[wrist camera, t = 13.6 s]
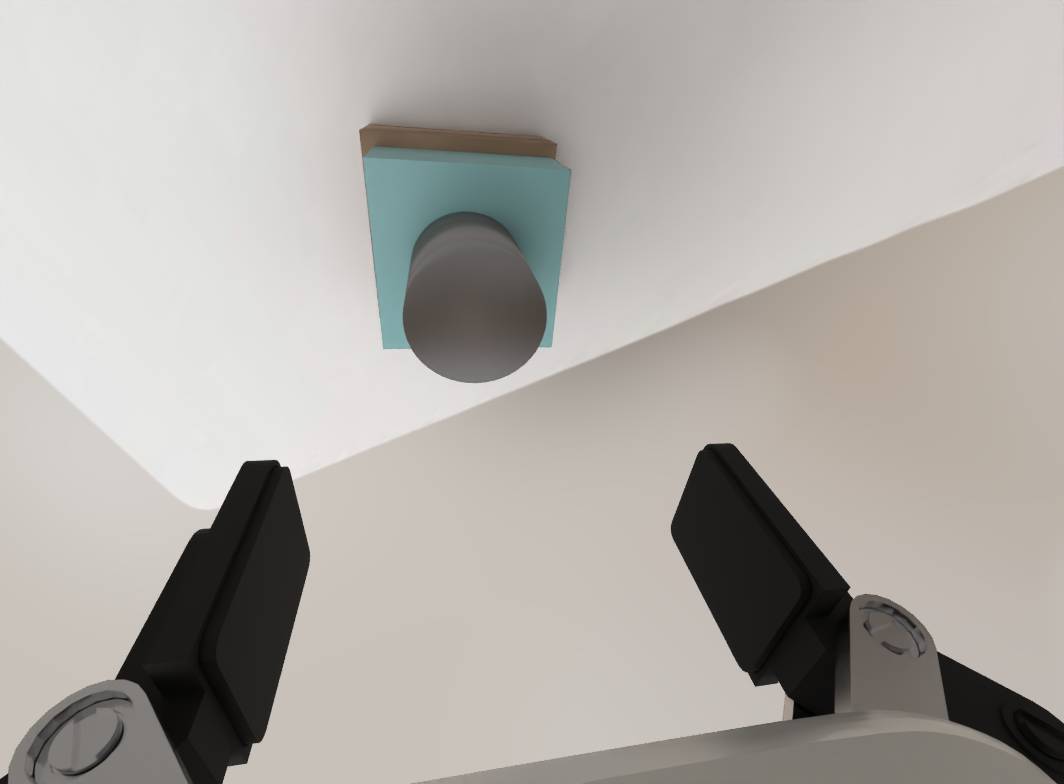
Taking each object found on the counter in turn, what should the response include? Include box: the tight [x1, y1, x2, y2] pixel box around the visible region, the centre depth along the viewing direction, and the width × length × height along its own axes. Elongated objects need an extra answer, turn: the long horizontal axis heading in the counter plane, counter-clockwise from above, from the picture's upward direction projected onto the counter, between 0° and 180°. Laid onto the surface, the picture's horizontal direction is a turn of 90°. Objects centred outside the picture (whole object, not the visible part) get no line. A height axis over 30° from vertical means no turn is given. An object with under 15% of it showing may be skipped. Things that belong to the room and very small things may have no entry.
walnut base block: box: [359, 125, 557, 315], centre depth 31 cm, size 11×11×5 cm
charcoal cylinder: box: [403, 211, 547, 383], centre depth 22 cm, size 6×6×7 cm
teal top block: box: [363, 146, 571, 349], centre depth 27 cm, size 10×10×5 cm
